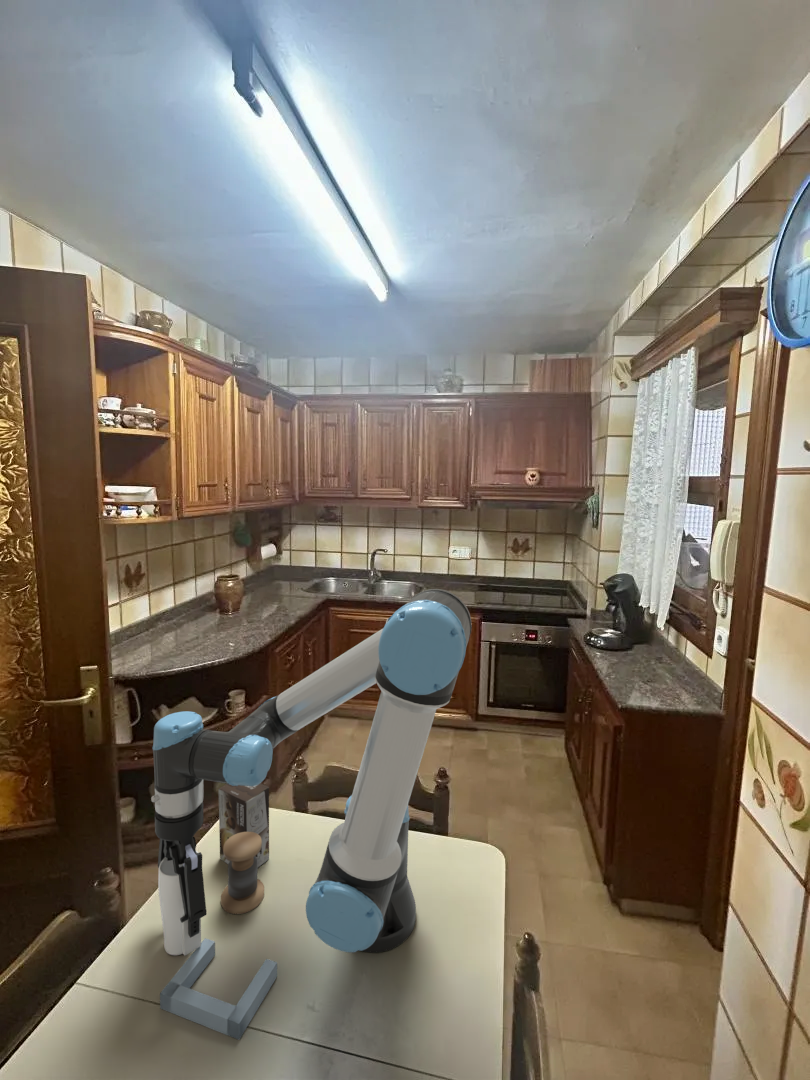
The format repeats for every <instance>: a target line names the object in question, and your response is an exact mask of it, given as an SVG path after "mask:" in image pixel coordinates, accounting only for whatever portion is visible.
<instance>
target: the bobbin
mask: <svg viewBox="0 0 810 1080" xmlns="http://www.w3.org/2000/svg"><path fill="white" fill-rule="evenodd" d="M261 847H262V840H261V837H260V836H259V835H258V834H257V833H254V832H241V833H237V834H235V835H233V836H231V837H230V838H229V839H228V840H227V841H226V842H225V844H224V847H223V853H224V856H225V858H226V859H228V860H230V862H229V864H227V885H226V886H225V887H224V888H223V891H222V892H221V895H220V906H221V907H222V909H223V910H224V912H226V913H227V914H232V915H242V914H246V913H249V912H252V911H253V910H254V909H256V908H257V907H258V906H259V905H260V904H261V903H262V902H263V900H264V898H265V884H264V883H263V881H262V880H261V879H259V878H258V868H257V858H256V856H255V855H257V854H258V853H259V851H260V850H261Z"/></svg>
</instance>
